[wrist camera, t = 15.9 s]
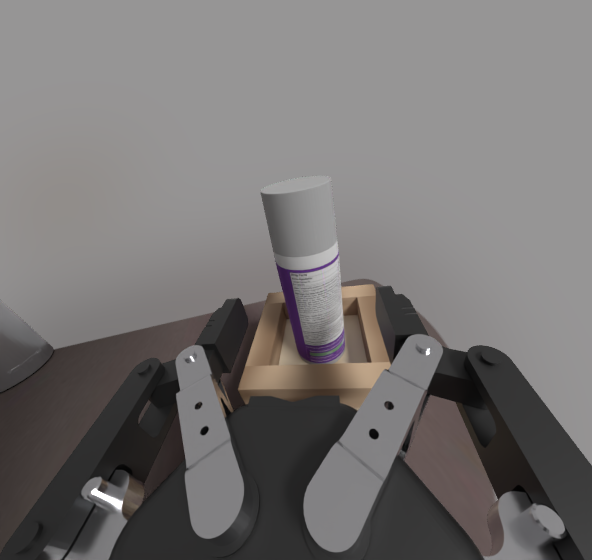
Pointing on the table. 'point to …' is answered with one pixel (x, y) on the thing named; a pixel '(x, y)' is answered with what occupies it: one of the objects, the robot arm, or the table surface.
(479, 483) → the table surface
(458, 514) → the table surface
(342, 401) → the wooden open tray
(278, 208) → the container
